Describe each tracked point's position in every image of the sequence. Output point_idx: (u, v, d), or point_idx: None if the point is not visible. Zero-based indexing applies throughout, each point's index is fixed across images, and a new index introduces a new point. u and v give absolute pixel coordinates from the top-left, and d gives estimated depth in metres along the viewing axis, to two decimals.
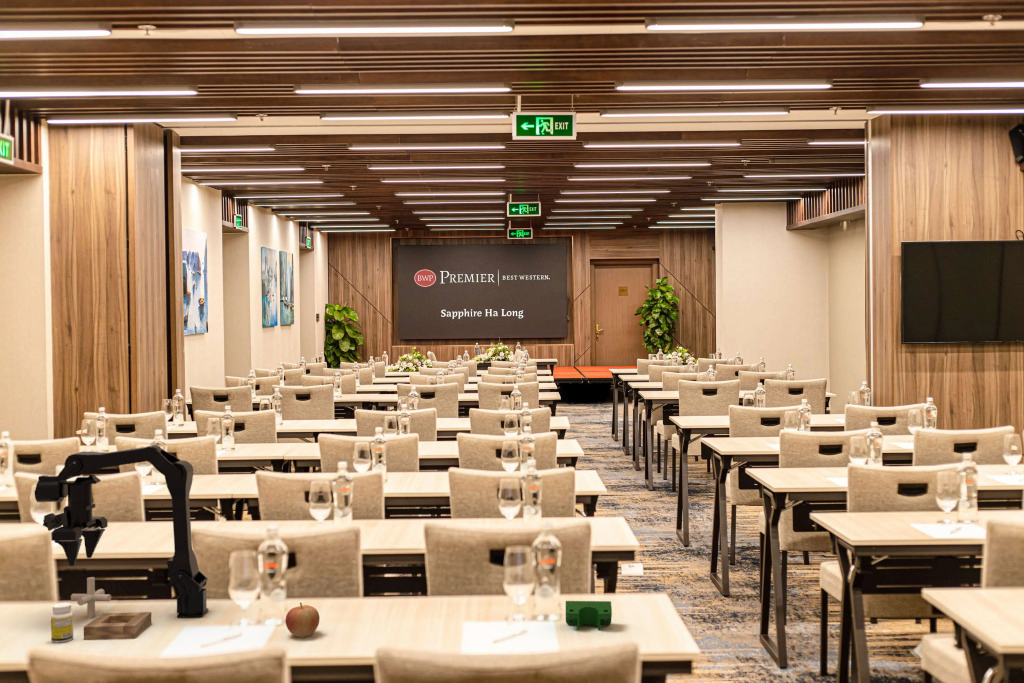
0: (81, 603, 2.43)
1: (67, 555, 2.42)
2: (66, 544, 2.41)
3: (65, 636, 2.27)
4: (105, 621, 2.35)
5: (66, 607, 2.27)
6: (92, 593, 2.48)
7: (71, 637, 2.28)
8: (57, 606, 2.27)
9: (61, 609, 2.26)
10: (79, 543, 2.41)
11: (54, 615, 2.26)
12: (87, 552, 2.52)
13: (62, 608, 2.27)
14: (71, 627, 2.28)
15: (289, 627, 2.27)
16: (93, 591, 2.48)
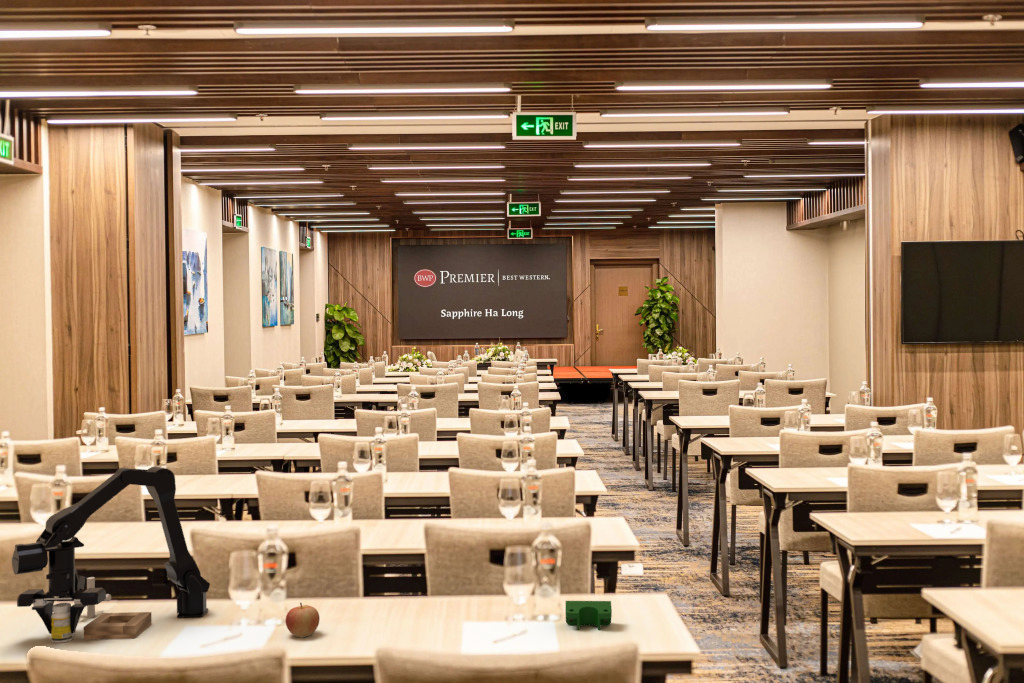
0: None
1: None
2: None
3: (65, 636, 2.27)
4: (105, 621, 2.35)
5: (66, 607, 2.27)
6: None
7: (71, 637, 2.28)
8: (57, 606, 2.27)
9: (61, 609, 2.26)
10: (40, 611, 2.26)
11: (54, 615, 2.26)
12: None
13: (62, 608, 2.27)
14: None
15: (289, 627, 2.27)
16: None
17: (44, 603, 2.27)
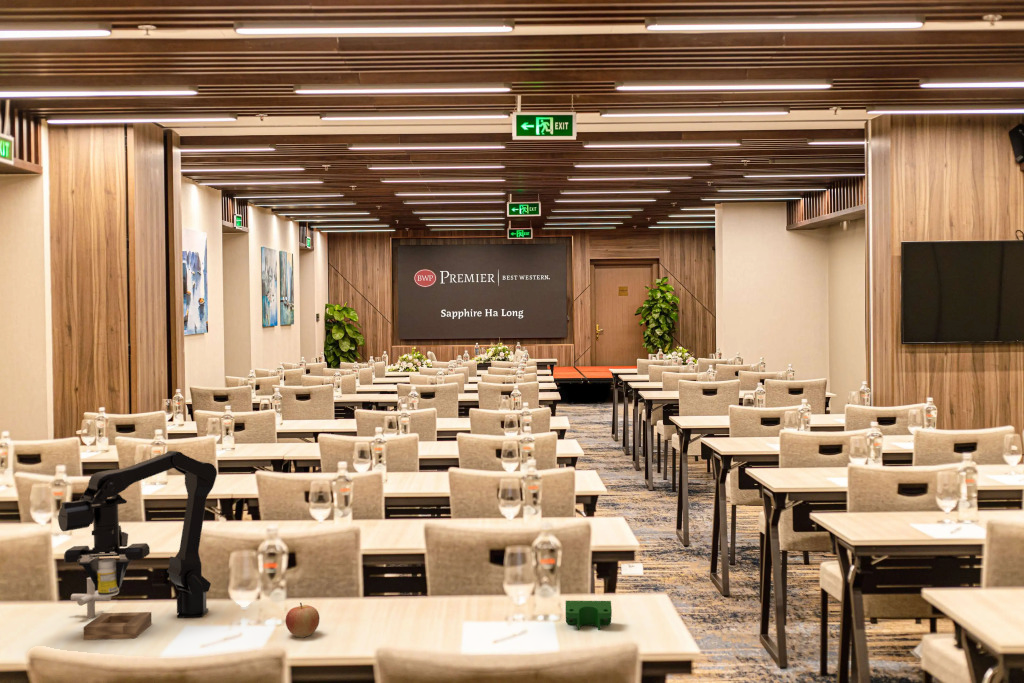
0: (81, 603, 2.43)
1: None
2: None
3: (112, 590, 2.32)
4: (105, 621, 2.35)
5: (111, 562, 2.33)
6: (92, 593, 2.48)
7: (117, 591, 2.34)
8: (102, 561, 2.32)
9: (107, 564, 2.32)
10: (86, 567, 2.31)
11: (100, 570, 2.32)
12: None
13: (108, 563, 2.32)
14: None
15: (289, 627, 2.27)
16: (93, 591, 2.48)
17: (90, 559, 2.32)
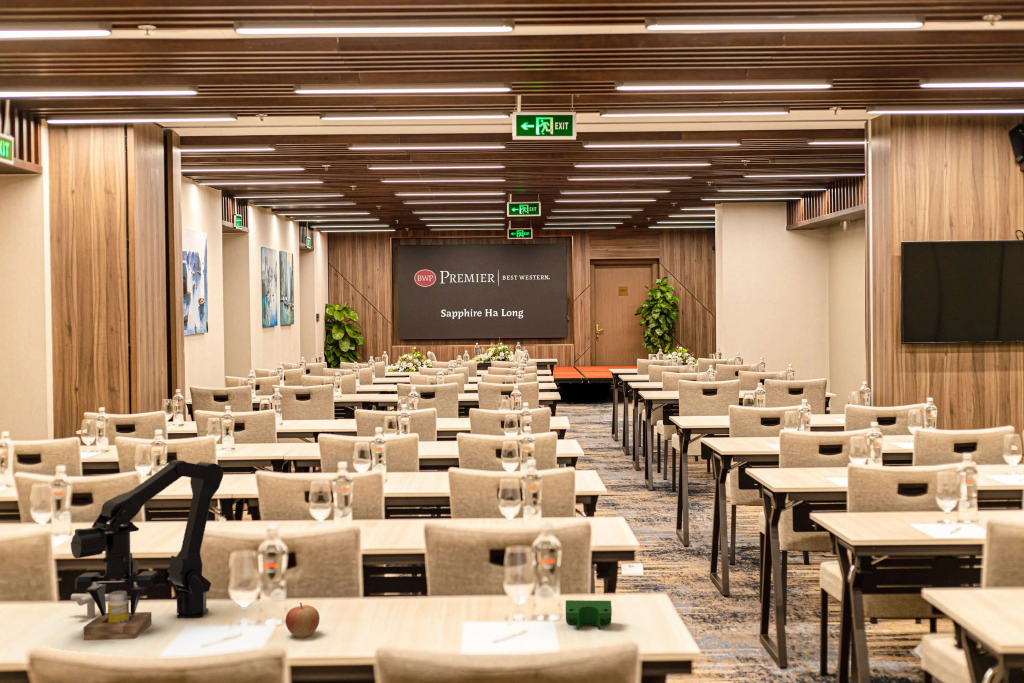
0: (81, 603, 2.43)
1: None
2: None
3: (122, 622, 2.33)
4: (105, 621, 2.35)
5: (122, 595, 2.34)
6: None
7: None
8: (113, 594, 2.34)
9: (118, 596, 2.33)
10: (93, 594, 2.32)
11: (111, 602, 2.33)
12: None
13: (119, 596, 2.33)
14: (127, 614, 2.35)
15: (289, 627, 2.27)
16: None
17: (97, 586, 2.33)
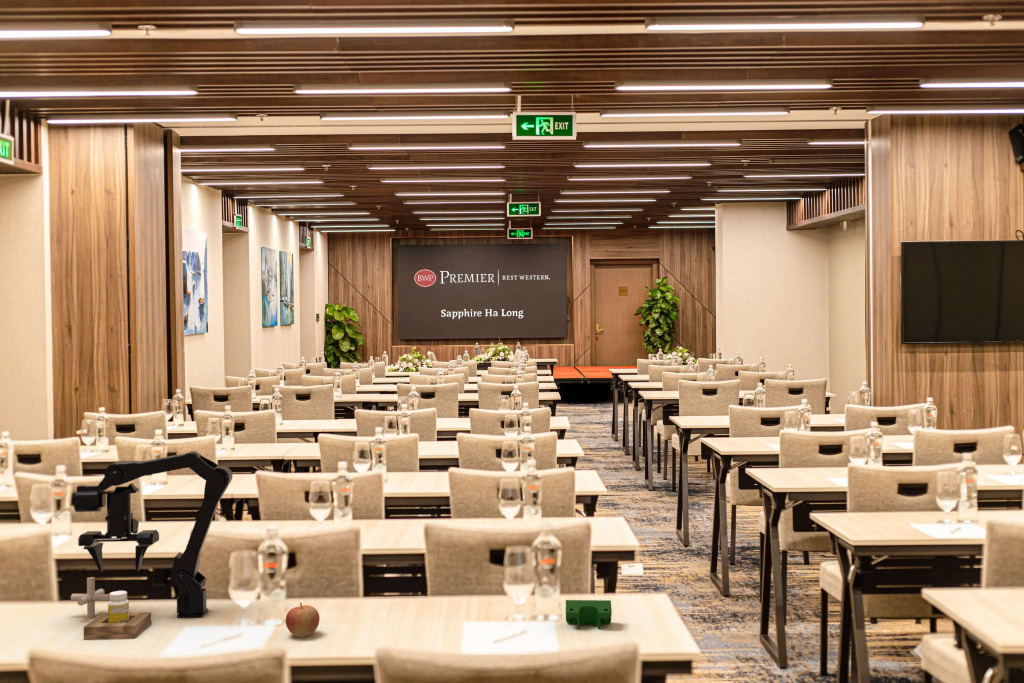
0: (81, 603, 2.43)
1: None
2: None
3: None
4: (105, 621, 2.35)
5: (123, 595, 2.34)
6: (92, 593, 2.48)
7: None
8: (114, 594, 2.34)
9: (118, 597, 2.33)
10: (91, 551, 2.44)
11: (111, 602, 2.33)
12: None
13: (119, 596, 2.33)
14: (127, 614, 2.35)
15: (289, 627, 2.27)
16: (93, 591, 2.48)
17: (95, 543, 2.45)
